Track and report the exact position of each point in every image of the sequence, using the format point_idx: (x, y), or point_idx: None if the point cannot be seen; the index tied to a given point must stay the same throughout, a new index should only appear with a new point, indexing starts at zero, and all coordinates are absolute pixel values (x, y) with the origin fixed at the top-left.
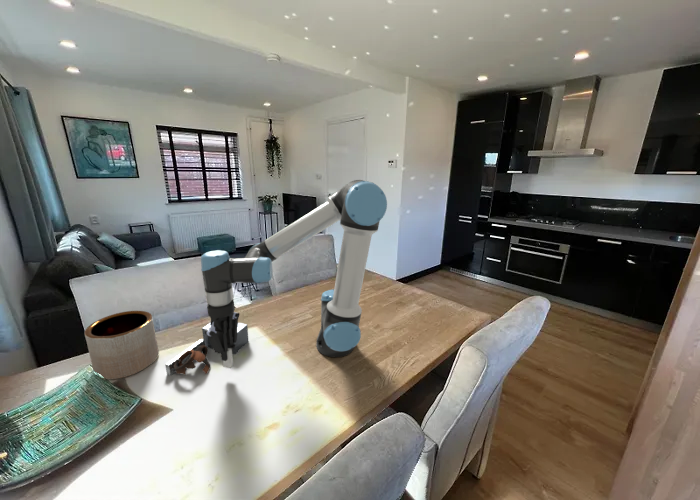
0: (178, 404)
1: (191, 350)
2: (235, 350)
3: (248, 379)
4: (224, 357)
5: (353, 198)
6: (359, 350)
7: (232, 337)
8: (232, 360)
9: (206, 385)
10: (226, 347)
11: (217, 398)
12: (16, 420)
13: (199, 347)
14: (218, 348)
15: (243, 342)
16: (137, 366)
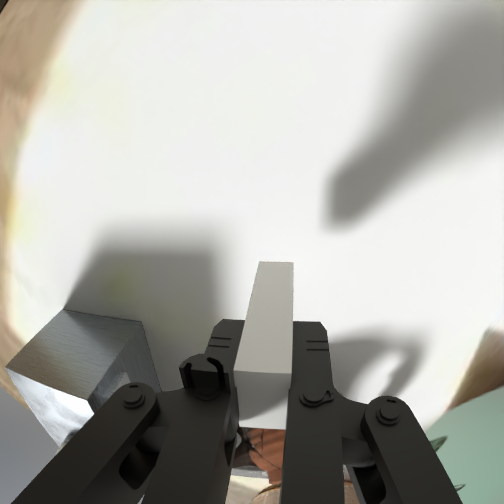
0: (468, 332)
1: (279, 483)
2: (128, 333)
3: (266, 130)
4: (328, 352)
5: None
6: None
7: (96, 395)
8: (257, 286)
9: (371, 313)
10: (306, 430)
11: (435, 209)
12: (460, 486)
13: (233, 467)
14: (447, 480)
15: (75, 326)
16: (349, 498)
